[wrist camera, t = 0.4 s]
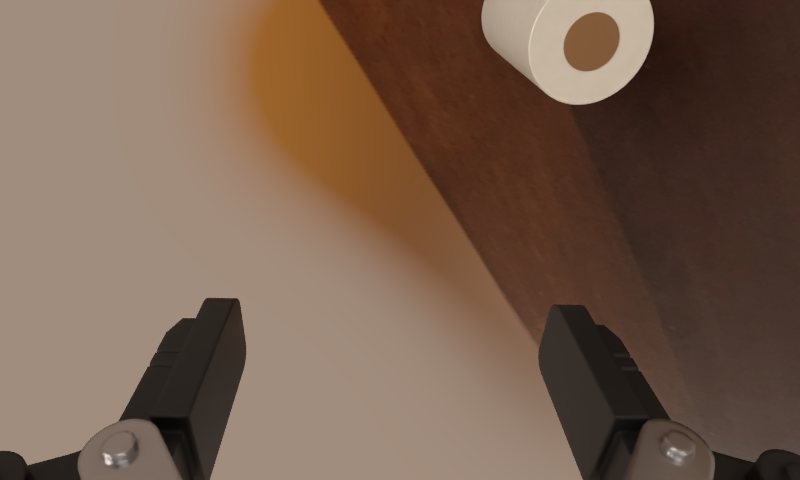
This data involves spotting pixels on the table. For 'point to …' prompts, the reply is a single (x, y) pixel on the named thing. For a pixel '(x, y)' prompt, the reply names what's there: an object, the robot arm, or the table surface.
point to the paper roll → (572, 43)
